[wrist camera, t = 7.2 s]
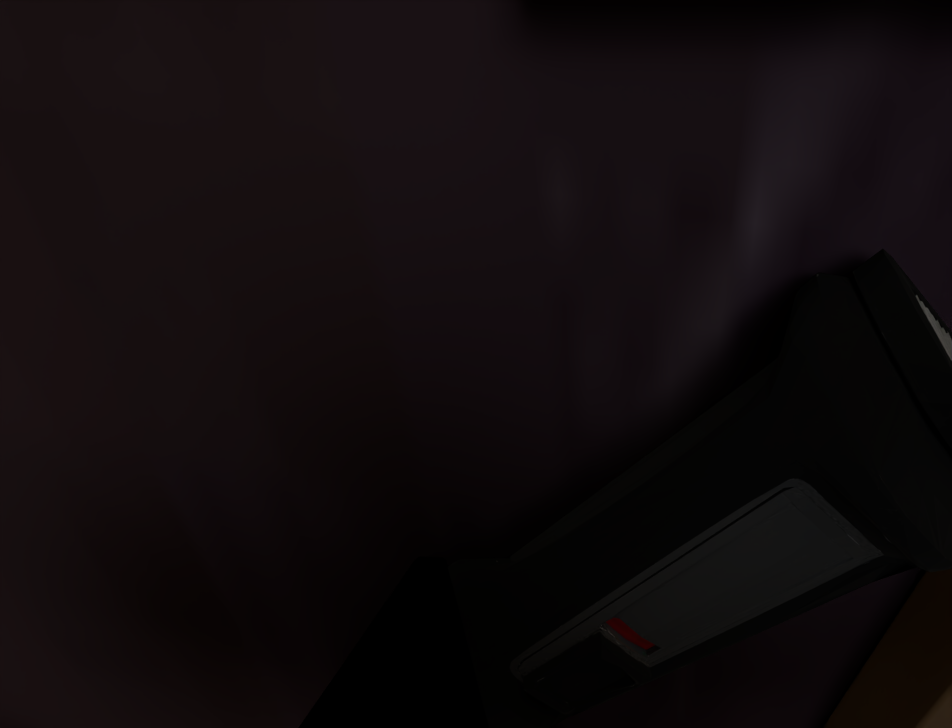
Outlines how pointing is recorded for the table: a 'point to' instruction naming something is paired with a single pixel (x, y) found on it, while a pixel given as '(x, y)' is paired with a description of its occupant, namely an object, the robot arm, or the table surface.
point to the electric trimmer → (734, 512)
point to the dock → (907, 666)
